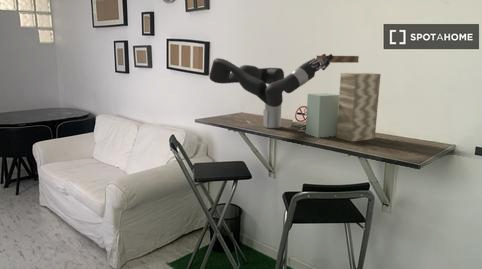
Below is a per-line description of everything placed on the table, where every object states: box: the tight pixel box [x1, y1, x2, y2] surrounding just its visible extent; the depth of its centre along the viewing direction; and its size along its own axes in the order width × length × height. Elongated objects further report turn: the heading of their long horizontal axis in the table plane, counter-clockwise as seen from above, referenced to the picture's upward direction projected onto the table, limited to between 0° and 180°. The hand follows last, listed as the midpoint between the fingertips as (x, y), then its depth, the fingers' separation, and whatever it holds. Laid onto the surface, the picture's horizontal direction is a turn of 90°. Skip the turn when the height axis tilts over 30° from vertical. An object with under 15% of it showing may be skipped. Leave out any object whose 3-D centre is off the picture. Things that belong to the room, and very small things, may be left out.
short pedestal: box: [305, 92, 339, 139], centre depth 193 cm, size 12×10×21 cm
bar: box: [315, 55, 360, 64], centre depth 175 cm, size 22×4×3 cm, turn 118°
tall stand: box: [335, 72, 382, 142], centre depth 186 cm, size 16×10×32 cm, turn 117°
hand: (328, 55), depth 172 cm, fingers closed on bar, 4 cm apart
